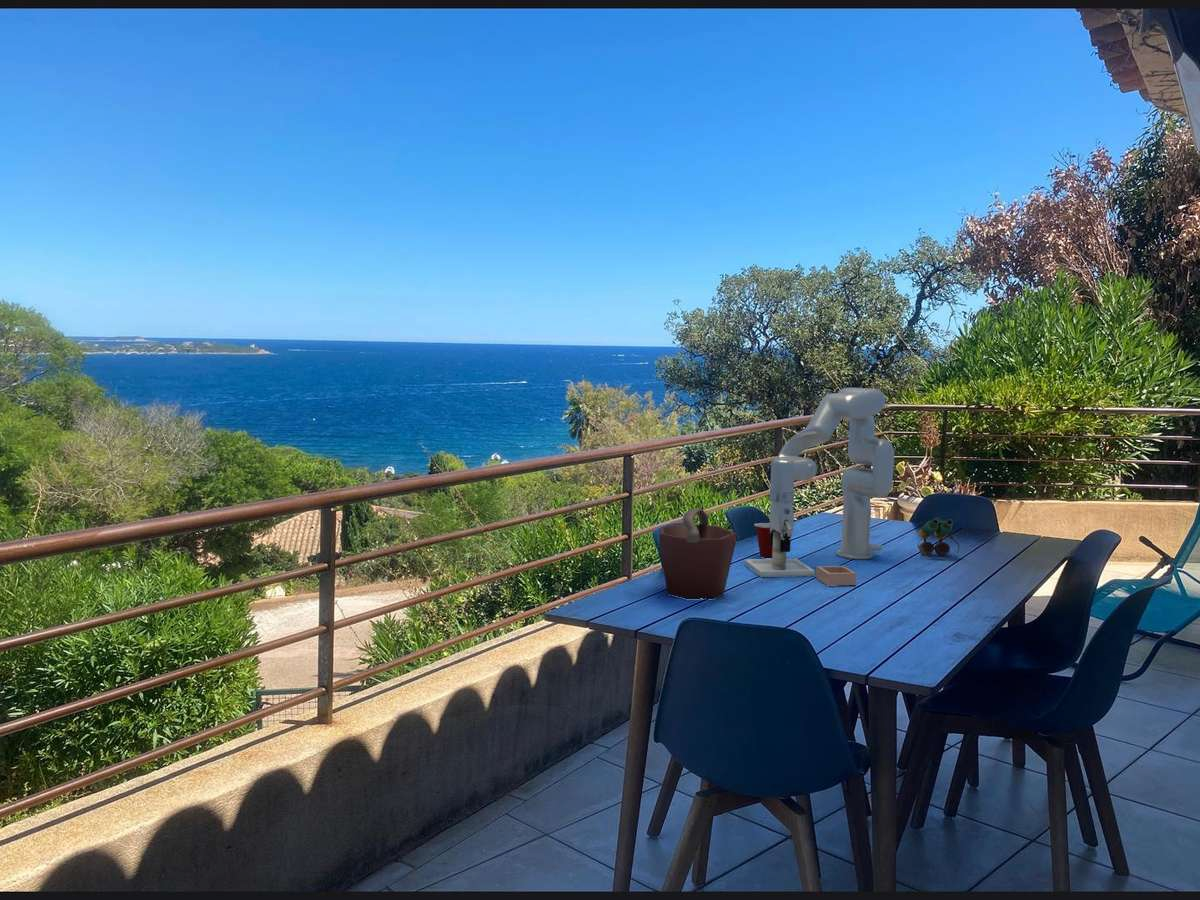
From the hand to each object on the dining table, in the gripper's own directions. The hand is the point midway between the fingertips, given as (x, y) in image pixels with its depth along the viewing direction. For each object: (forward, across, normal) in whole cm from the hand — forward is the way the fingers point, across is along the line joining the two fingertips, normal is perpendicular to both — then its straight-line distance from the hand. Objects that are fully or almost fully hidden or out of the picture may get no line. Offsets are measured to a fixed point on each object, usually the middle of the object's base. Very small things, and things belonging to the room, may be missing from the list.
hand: (779, 548), depth 268 cm
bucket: (+8, -22, +35) cm, 42 cm away
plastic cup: (+8, +18, -3) cm, 20 cm away
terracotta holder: (+8, -15, -13) cm, 21 cm away
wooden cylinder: (+7, 0, 0) cm, 7 cm away
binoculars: (+8, +15, -64) cm, 66 cm away
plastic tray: (+8, 0, 0) cm, 8 cm away
